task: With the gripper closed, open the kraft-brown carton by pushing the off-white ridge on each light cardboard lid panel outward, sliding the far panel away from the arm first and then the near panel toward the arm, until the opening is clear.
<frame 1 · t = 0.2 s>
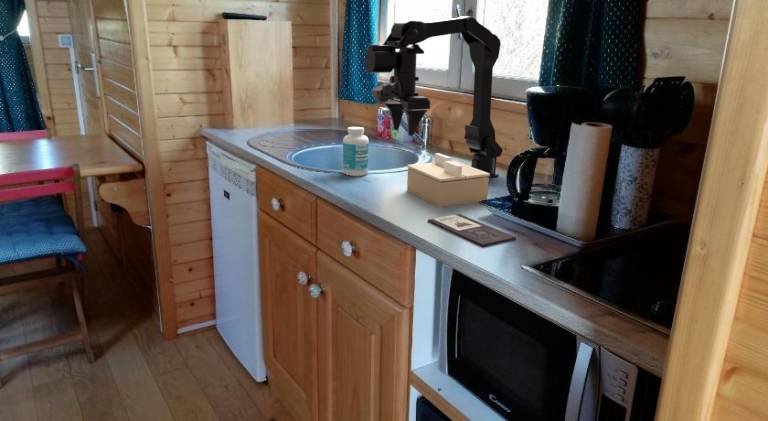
hand: (403, 132, 153), 14 cm above the worktop, fingers open, 9 cm apart
inner lid: (459, 164, 148), point 8 cm above the worktop, slide at 0.0 cm
outer lid: (435, 166, 144), point 8 cm above the worktop, slide at 0.0 cm
carton: (446, 195, 148), on the worktop
pill bottle: (355, 174, 169), on the worktop
chocolate bar: (469, 233, 123), on the worktop
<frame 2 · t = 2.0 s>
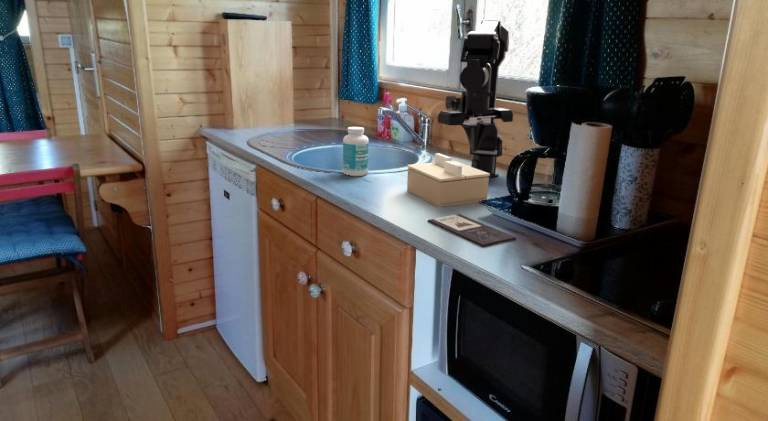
hand: (473, 151, 143), 12 cm above the worktop, fingers closed
nothing on the worktop moved.
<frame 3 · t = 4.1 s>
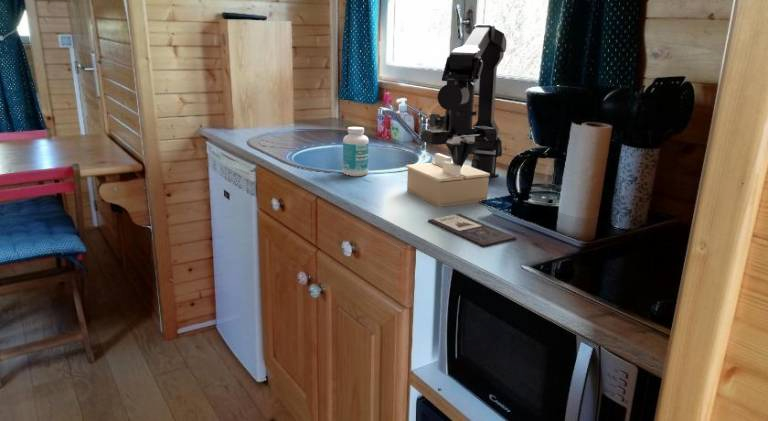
hand: (457, 169, 142), 8 cm above the worktop, fingers closed
outer lid: (433, 166, 144), point 8 cm above the worktop, slide at 0.4 cm, touching gripper
everything else where it was.
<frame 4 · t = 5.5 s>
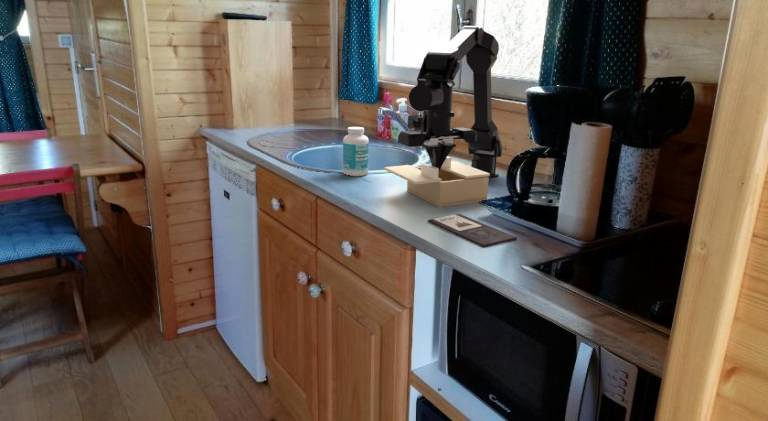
hand: (436, 172, 139), 8 cm above the worktop, fingers closed
outer lid: (412, 169, 142), point 8 cm above the worktop, slide at 6.6 cm, touching gripper
everything else where it was.
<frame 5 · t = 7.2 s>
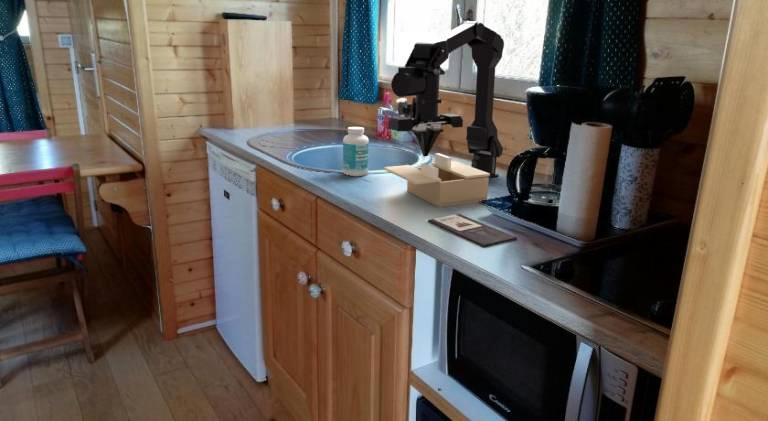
hand: (424, 156, 147), 10 cm above the worktop, fingers closed
outer lid: (411, 169, 141), point 8 cm above the worktop, slide at 6.7 cm
everything else where it was.
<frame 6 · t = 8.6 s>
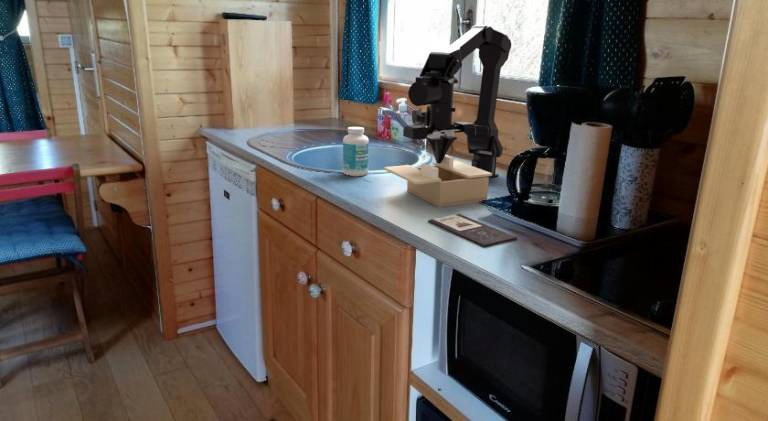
hand: (438, 163, 150), 7 cm above the worktop, fingers closed
inner lid: (462, 164, 148), point 8 cm above the worktop, slide at 0.7 cm, touching gripper
everything else where it was.
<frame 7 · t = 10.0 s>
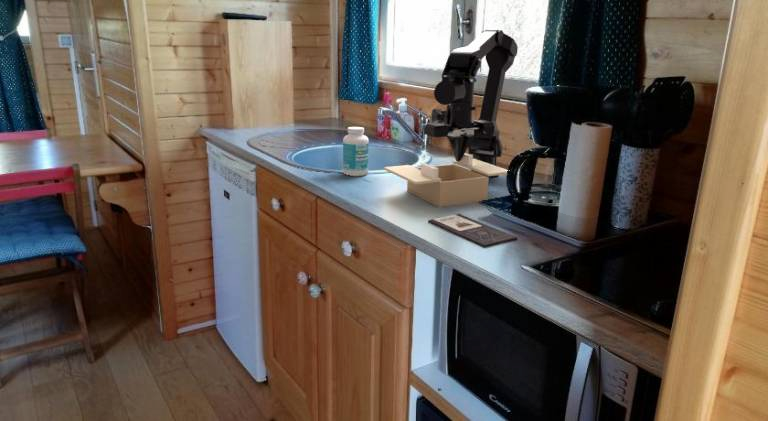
hand: (458, 160, 153), 8 cm above the worktop, fingers closed
inner lid: (481, 162, 151), point 8 cm above the worktop, slide at 6.7 cm, touching gripper
everything else where it was.
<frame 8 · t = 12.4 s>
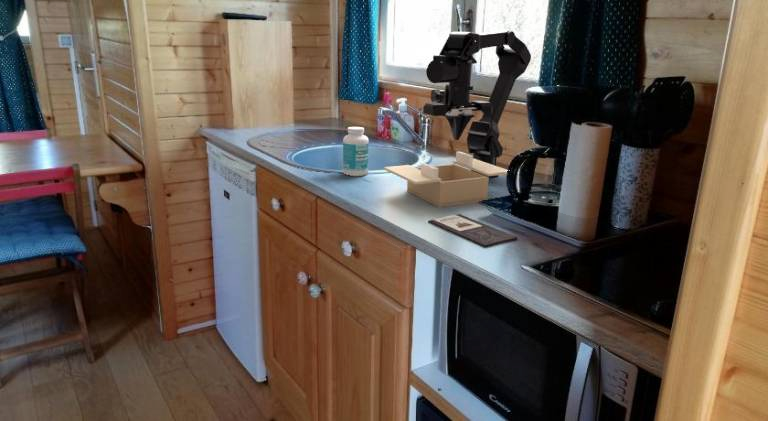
hand: (456, 140, 157), 12 cm above the worktop, fingers closed
inner lid: (481, 162, 151), point 8 cm above the worktop, slide at 6.7 cm
everything else where it was.
at the end: outer lid slide at 6.7 cm; inner lid slide at 6.7 cm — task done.
